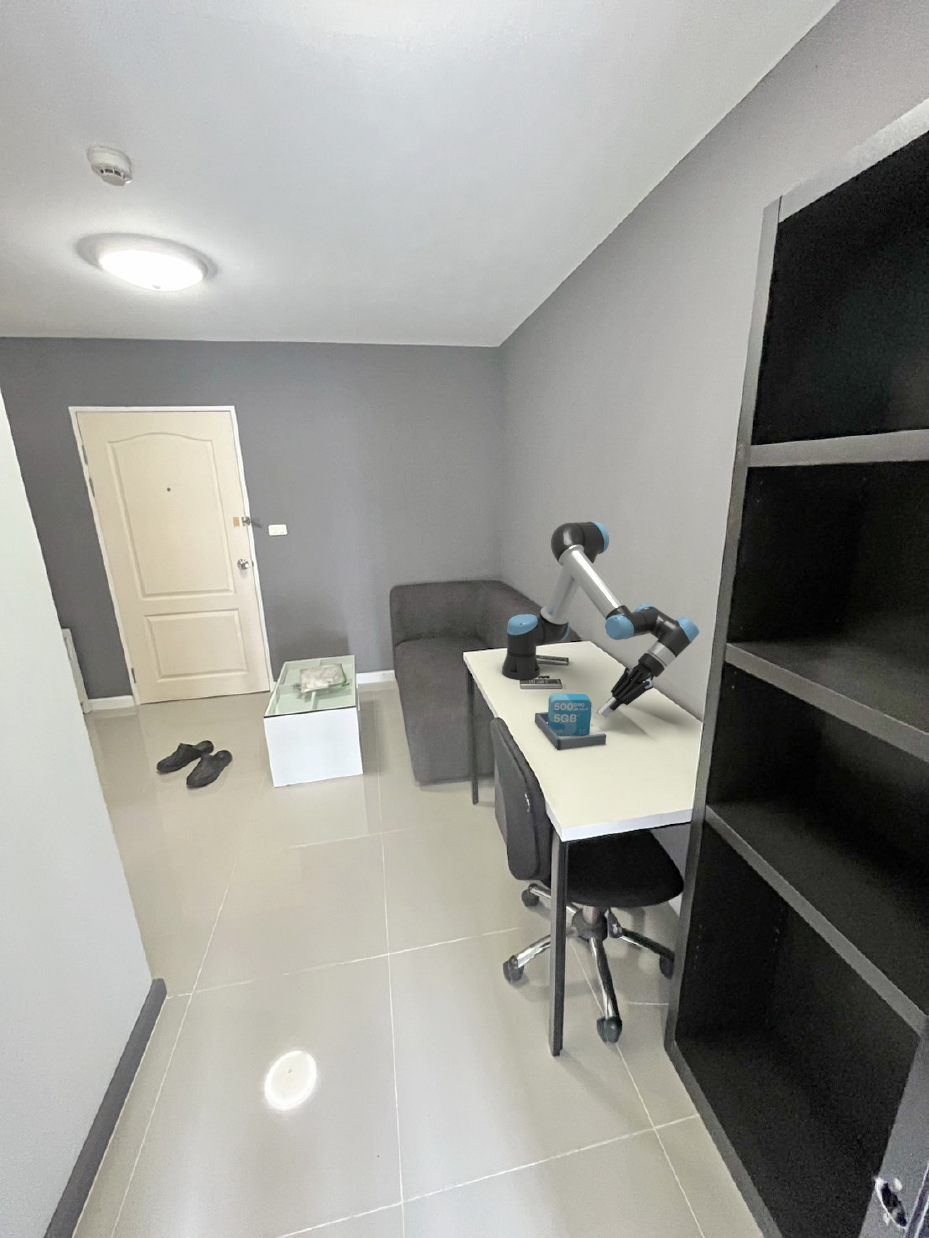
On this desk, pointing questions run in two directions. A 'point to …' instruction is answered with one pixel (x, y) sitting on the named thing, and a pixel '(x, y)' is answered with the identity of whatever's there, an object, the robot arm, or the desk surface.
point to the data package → (569, 714)
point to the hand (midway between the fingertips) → (601, 715)
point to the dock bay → (567, 742)
